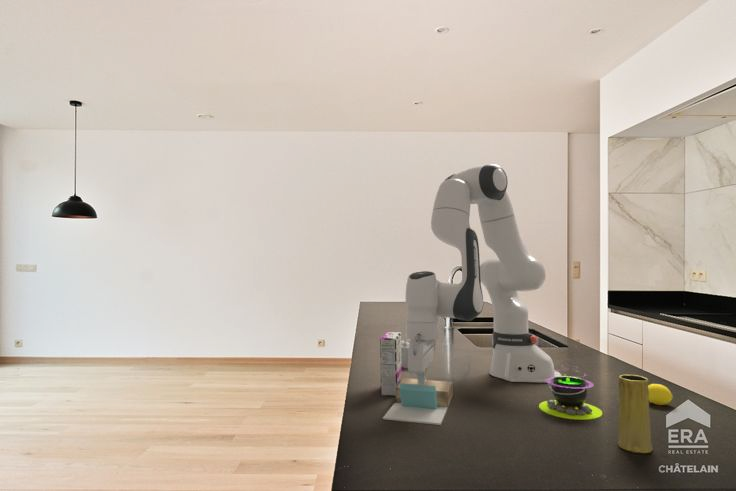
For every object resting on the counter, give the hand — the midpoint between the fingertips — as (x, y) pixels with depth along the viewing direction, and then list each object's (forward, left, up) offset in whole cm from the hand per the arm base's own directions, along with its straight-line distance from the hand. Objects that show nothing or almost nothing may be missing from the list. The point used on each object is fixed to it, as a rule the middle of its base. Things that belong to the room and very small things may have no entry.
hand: (422, 382), depth 125 cm
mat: (0, +9, -5) cm, 11 cm away
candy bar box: (+11, -9, -6) cm, 15 cm away
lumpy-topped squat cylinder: (+12, -43, -6) cm, 45 cm away
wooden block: (0, -3, -5) cm, 6 cm away
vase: (-47, +17, -6) cm, 50 cm away
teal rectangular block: (0, +5, -1) cm, 5 cm away
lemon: (-60, -16, -6) cm, 63 cm away
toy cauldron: (-37, -5, -6) cm, 38 cm away
